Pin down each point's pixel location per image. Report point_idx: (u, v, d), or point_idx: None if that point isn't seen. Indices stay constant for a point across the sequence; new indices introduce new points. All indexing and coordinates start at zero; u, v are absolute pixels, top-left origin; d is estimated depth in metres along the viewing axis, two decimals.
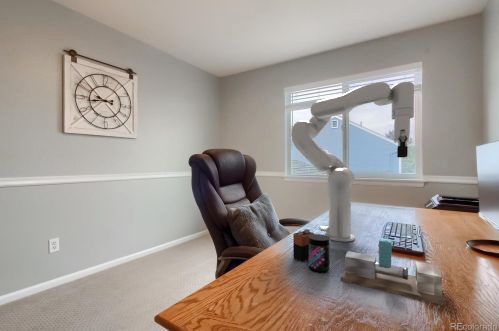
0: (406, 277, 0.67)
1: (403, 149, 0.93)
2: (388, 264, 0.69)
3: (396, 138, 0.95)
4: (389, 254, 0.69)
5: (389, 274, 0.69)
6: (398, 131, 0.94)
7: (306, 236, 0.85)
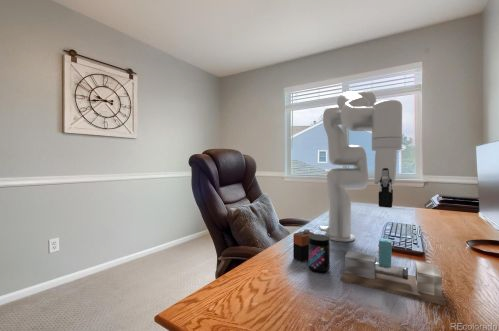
0: (406, 277, 0.67)
1: (386, 197, 0.65)
2: (388, 264, 0.69)
3: (376, 180, 0.67)
4: (389, 254, 0.69)
5: (389, 274, 0.69)
6: (379, 170, 0.66)
7: (306, 236, 0.85)
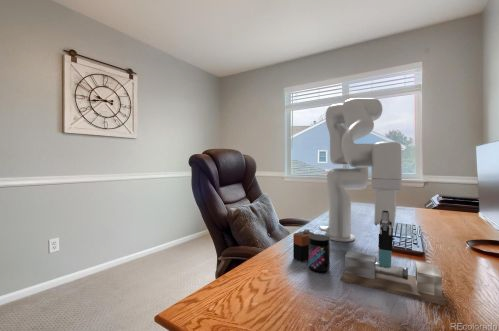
0: (406, 277, 0.67)
1: (386, 240, 0.65)
2: (388, 264, 0.69)
3: (376, 222, 0.67)
4: (389, 254, 0.69)
5: (389, 274, 0.69)
6: (379, 212, 0.66)
7: (306, 236, 0.85)
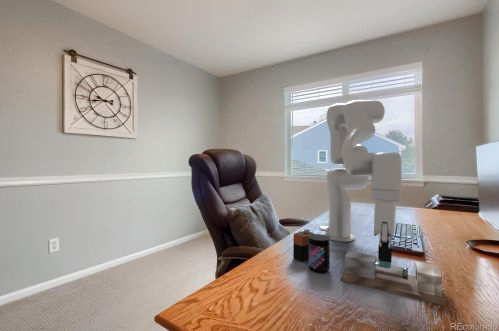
0: (406, 277, 0.67)
1: (385, 252, 0.68)
2: (388, 264, 0.69)
3: (376, 233, 0.67)
4: None
5: (389, 274, 0.69)
6: (378, 223, 0.67)
7: (306, 236, 0.85)
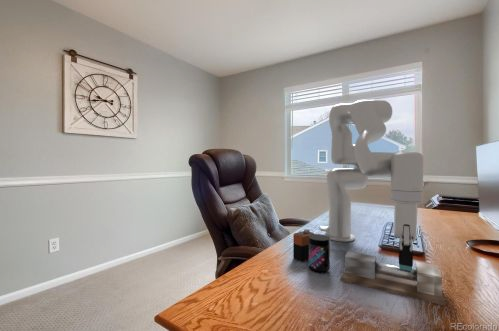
0: None
1: (407, 256, 0.65)
2: (409, 268, 0.66)
3: (397, 235, 0.65)
4: None
5: (410, 278, 0.66)
6: (400, 226, 0.64)
7: (306, 236, 0.85)
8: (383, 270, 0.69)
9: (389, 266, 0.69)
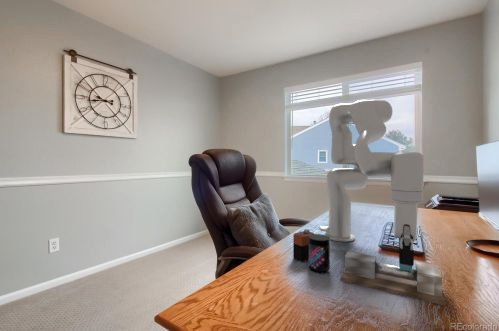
0: None
1: (407, 255, 0.63)
2: (409, 268, 0.66)
3: (397, 235, 0.65)
4: None
5: (410, 278, 0.66)
6: (400, 226, 0.64)
7: (306, 236, 0.85)
8: (383, 270, 0.69)
9: (389, 266, 0.69)
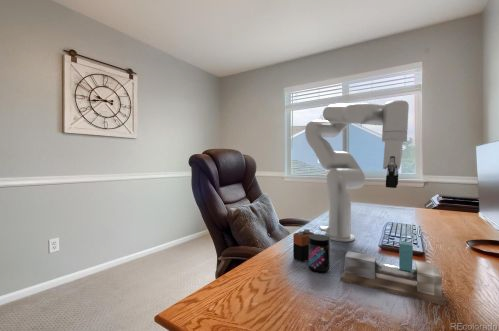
0: None
1: (392, 179, 0.81)
2: (409, 268, 0.66)
3: (385, 166, 0.83)
4: (410, 258, 0.66)
5: (410, 278, 0.66)
6: (387, 158, 0.82)
7: (306, 236, 0.85)
8: (383, 270, 0.69)
9: (389, 266, 0.69)
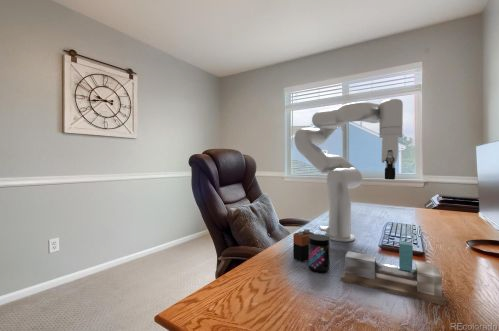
0: None
1: (390, 171, 0.87)
2: (409, 268, 0.66)
3: (383, 159, 0.89)
4: (410, 258, 0.66)
5: (410, 278, 0.66)
6: (385, 152, 0.88)
7: (306, 236, 0.85)
8: (383, 270, 0.69)
9: (389, 266, 0.69)
